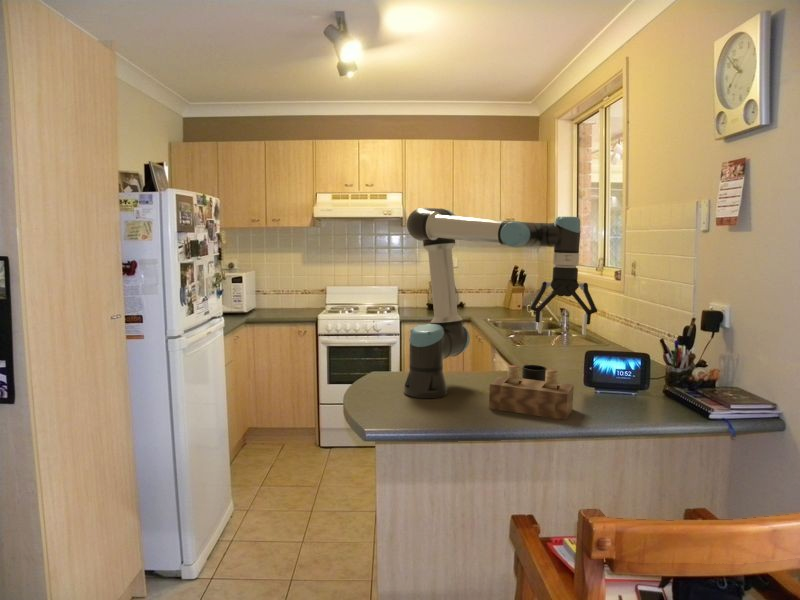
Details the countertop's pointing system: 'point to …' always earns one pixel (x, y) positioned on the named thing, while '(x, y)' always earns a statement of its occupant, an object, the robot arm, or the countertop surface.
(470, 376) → the countertop surface
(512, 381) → the peg
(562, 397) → the socket block
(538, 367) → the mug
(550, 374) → the peg
